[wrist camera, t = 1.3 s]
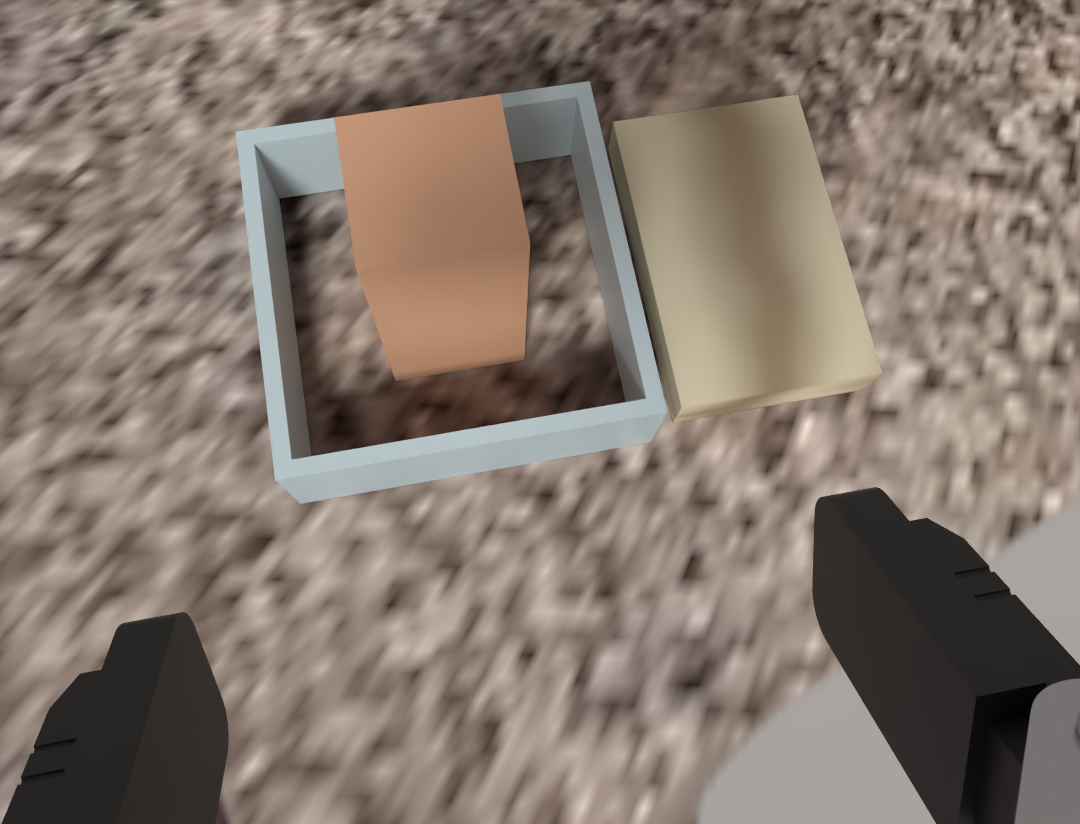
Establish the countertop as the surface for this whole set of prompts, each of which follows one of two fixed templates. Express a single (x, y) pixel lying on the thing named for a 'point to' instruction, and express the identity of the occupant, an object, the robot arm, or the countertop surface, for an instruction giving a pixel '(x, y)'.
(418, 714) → the countertop surface
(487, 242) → the terracotta box
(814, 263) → the block
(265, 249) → the square frame
